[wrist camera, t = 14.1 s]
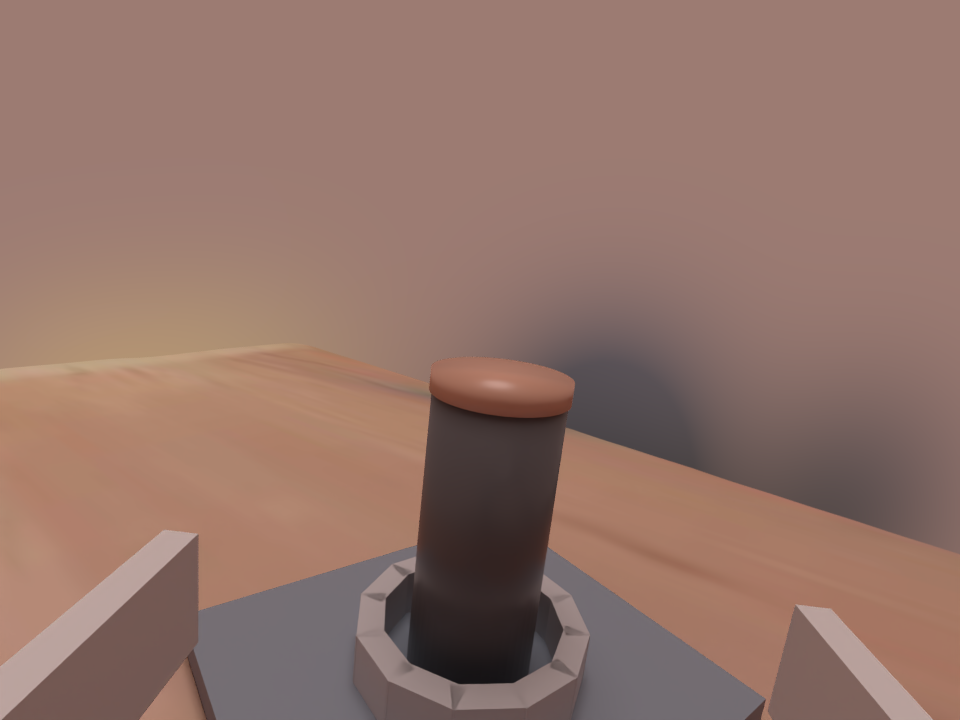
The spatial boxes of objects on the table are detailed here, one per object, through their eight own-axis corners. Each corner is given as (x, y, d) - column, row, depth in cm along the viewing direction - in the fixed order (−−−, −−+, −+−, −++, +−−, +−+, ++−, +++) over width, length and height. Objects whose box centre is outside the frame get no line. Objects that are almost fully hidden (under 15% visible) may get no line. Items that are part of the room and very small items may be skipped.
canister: (479, 600, 25) (509, 354, 23) (558, 674, 22) (605, 387, 19) (381, 640, 22) (404, 359, 20) (452, 736, 18) (493, 400, 16)
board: (504, 535, 34) (510, 488, 33) (759, 723, 22) (777, 656, 21) (182, 640, 23) (182, 572, 22) (339, 1150, 10) (348, 1033, 10)
